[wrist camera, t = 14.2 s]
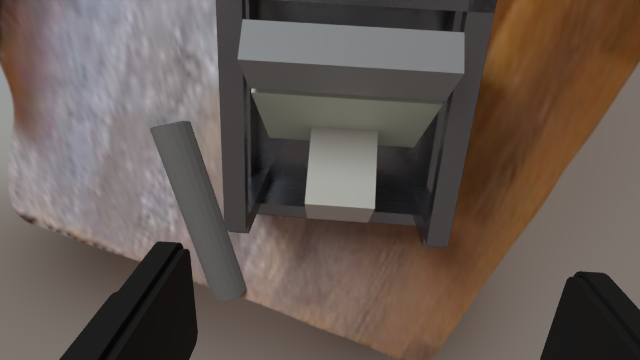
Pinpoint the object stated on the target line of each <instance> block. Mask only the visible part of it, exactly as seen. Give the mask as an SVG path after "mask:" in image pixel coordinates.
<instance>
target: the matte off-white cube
mask: <svg viewBox="0 0 640 360" xmlns="http://www.w3.org/2000/svg"><path fill="white" fill-rule="evenodd" d="M377 141H378V131H369V130H354V129H340V128H325V127H311V138H310V149H309V161H308V172H307V183H306V194H305V209H306V214H307V218H311V219H324V220H338V221H352V222H366V223H368V221H369V219H370V217H371V215H372V213H373V212H374V210H375V192H376V167H377Z"/></svg>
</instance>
